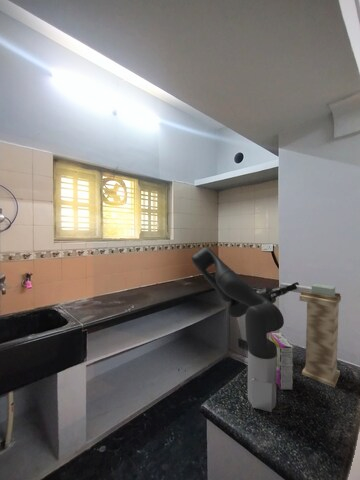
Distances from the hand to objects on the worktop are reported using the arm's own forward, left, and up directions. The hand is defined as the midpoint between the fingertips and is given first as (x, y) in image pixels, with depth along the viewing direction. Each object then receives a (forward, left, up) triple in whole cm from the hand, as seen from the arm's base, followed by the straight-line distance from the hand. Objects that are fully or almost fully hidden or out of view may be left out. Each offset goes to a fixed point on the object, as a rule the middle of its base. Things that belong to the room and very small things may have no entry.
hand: (297, 285), depth 94 cm
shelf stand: (-4, -9, -35) cm, 36 cm away
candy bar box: (-13, +7, -35) cm, 38 cm away
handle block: (-1, -3, -3) cm, 4 cm away
